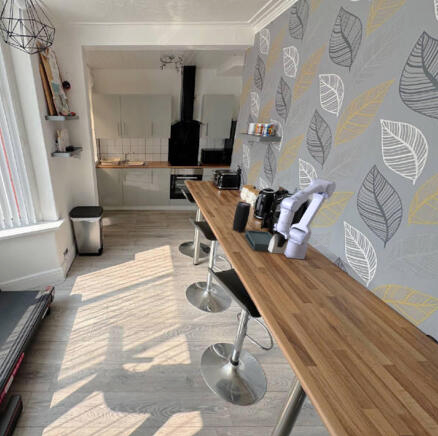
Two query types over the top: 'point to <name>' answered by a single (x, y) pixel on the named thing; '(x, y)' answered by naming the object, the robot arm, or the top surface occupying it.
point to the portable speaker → (241, 216)
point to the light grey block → (273, 245)
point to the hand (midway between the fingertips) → (277, 244)
